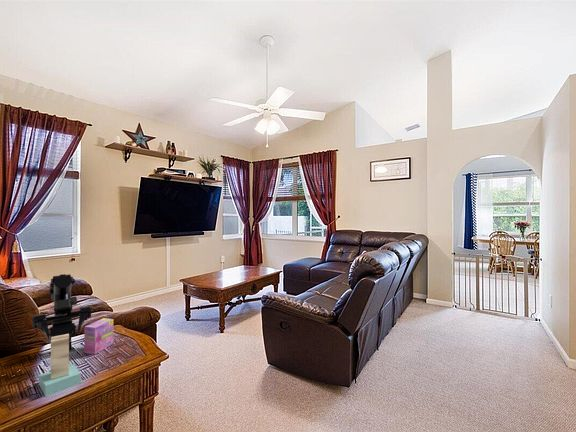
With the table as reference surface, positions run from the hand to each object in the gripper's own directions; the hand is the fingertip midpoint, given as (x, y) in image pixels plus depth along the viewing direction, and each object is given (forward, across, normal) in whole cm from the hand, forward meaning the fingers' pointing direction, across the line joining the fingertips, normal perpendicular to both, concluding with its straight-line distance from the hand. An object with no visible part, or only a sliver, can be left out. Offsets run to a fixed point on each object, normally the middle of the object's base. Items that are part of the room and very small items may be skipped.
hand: (64, 336), depth 114 cm
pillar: (+14, -2, -1) cm, 14 cm away
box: (+1, +13, +18) cm, 23 cm away
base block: (+17, -2, +2) cm, 17 cm away
